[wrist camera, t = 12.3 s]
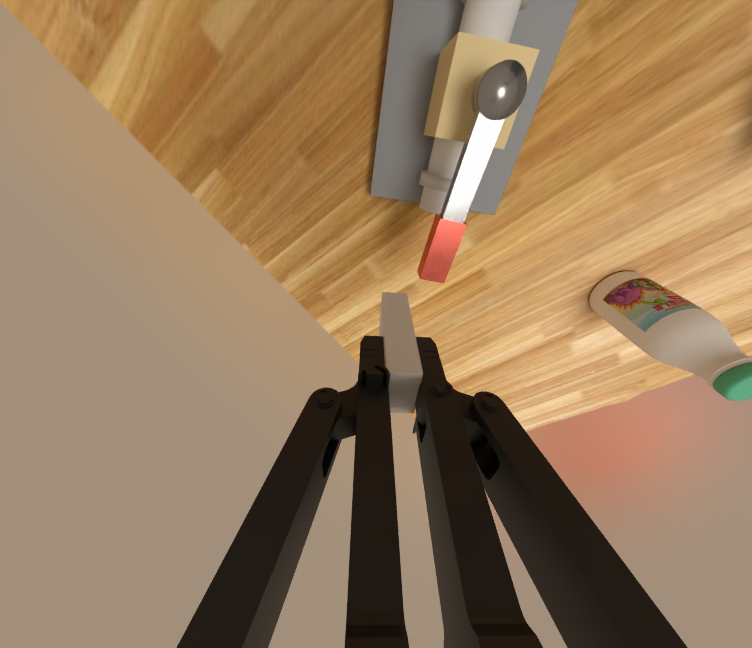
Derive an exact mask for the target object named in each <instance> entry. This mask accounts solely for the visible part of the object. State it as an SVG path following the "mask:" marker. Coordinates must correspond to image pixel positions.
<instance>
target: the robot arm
mask: <svg viewBox="0 0 752 648" xmlns="http://www.w3.org/2000/svg"><path fill="white" fill-rule="evenodd" d="M379 331H380V336H364V338H363V339H362V341H361V344H360V364H359V374H358V382H357V383H356V385H355V386H354V387H352V388H350V389H348V390H346V391H342V392H337V391H336V390H334V389H332V388H322V389H318V390H316V391H315V392H313V394H312V395H311V396H310V398H309V399H308V401H307V403H306V405H305V407H304V409H303V411H302V413H301V414H300V416H299V418H298V420H297V422H296V424H295V426H294V428H293V429H292V431H291V433H290V435H289V437H288V439H287V441H286V443H285V445H284V446H283V448H282V450H281V452H280V454H279V456H278V458H277V460H276V461H275V464H274V465H273V467H272V469H271V471H270V473H269V475H268V477H267V478H266V481H265V482H264V484H263V486H262V488H261V490H260V492H259V493H258V495H257V497H256V499H255V501H254V503H253V505H252V507H251V509H250V510H249V512H248V514H247V516H246V518H245V520H244V522H243V524H242V526H241V527H240V529H239V531H238V533H237V535H236V537H235V539H234V541H233V543H232V544H231V546H230V548H229V550H228V552H227V554H226V556H225V558H224V560H223V561H222V563H221V565H220V567H219V569H218V571H217V573H216V575H215V577H214V578H213V580H212V582H211V584H210V586H209V588H208V590H207V592H206V593H205V595H204V597H203V599H202V601H201V603H200V605H199V607H198V608H197V610H196V612H195V614H194V616H193V618H192V620H191V622H190V624H189V625H188V627H187V629H186V631H185V633H184V635H183V637H182V639H181V641H180V642H179V644H178V646H177V648H268V646H269V643H270V640H271V638H272V635H273V632H274V629H275V626H276V623H277V621H278V618H279V615H280V612H281V609H282V607H283V604H284V601H285V598H286V595H287V593H288V590H289V587H290V584H291V581H292V579H293V576H294V573H295V570H296V567H297V564H298V561H299V559H300V556H301V553H302V550H303V547H304V545H305V541H306V539H307V536H308V533H309V530H310V528H311V525H312V522H313V519H314V516H315V514H316V511H317V508H318V505H319V502H320V499H321V497H322V494H323V491H324V488H325V485H326V483H327V480H328V477H329V474H330V471H331V468H332V466H333V463H334V460H335V457H336V454H337V452H338V449H339V446H340V443H341V440H342V439H344V438H347V437H350V436H354V435H356V438H355V439H356V441H355V459H354V480H353V499H352V520H351V539H350V559H349V580H348V602H347V619H346V635H345V648H409V644H408V637H407V632H406V627H405V621H404V611H403V597H402V584H401V583H402V582H401V566H400V551H399V536H398V521H397V506H396V491H395V478H394V477H395V476H394V462H393V446H392V431H391V417H390V412H394V413H414V410H415V408H416V419H415V424H414V428H413V433H415V432H416V433H417V440H418V447H419V455H420V461H421V469H422V476H423V483H424V490H425V497H426V504H427V512H428V519H429V526H430V533H431V540H432V547H433V554H434V561H435V568H436V576H437V583H438V590H439V597H440V604H441V611H442V618H443V625H444V648H543V647H542V645H541V643H540V641H539V639H538V637H537V636H536V634H535V633H534V632H533V631H532V629H531V628H530V627H529V626H528V624H527V623H526V621H525V619H524V617H523V614H522V611H521V608H520V605H519V602H518V598H517V595H516V592H515V589H514V585H513V582H512V579H511V576H510V572H509V569H508V566H507V563H506V559H505V556H504V553H503V549H502V546H501V543H500V539H499V536H498V533H497V529H496V526H495V523H494V520H493V516H492V513H491V510H490V506H489V504H488V500H487V497H486V493H487V495H488V497H489V498H490V500H491V502H492V504H493V506H494V508H495V510H496V512H497V514H498V516H499V518H500V519H501V521H502V523H503V525H504V527H505V529H506V531H507V533H508V535H509V537H510V538H511V540H512V542H513V544H514V546H515V548H516V550H517V552H518V554H519V556H520V558H521V560H522V561H523V563H524V565H525V567H526V569H527V571H528V573H529V575H530V577H531V578H532V581H533V583H534V584H535V586H536V588H537V590H538V592H539V594H540V596H541V598H542V600H543V601H544V603H545V605H546V607H547V609H548V611H549V613H550V615H551V617H552V619H553V621H554V623H555V625H556V626H557V628H558V630H559V632H560V634H561V636H562V638H563V640H564V642H565V644H566V645H567V647H568V648H687V646H686V645H685V644H684V642H683V641H682V640H681V638H680V637H679V636H678V634H677V633H676V632H675V630H674V629H673V628H672V626H671V625H670V624H669V622H668V621H667V620H666V618H665V617H664V616H663V614H662V613H661V612H660V610H659V609H658V608H657V606H656V605H655V604H654V602H653V601H652V600H651V598H650V597H649V596H648V594H647V593H646V592H645V590H644V589H643V588H642V586H641V585H640V584H639V582H638V581H637V580H636V578H635V577H634V576H633V574H632V573H631V572H630V570H629V569H628V567H627V566H626V565H625V563H624V562H623V561H622V559H621V558H620V557H619V555H618V554H617V553H616V551H615V550H614V549H613V547H612V546H611V545H610V544H609V542H608V541H607V539H606V538H605V537H604V535H603V534H602V533H601V531H600V530H599V529H598V527H597V526H596V525H595V523H594V522H593V521H592V519H591V518H590V517H589V516H588V514H587V513H586V511H585V510H584V509H583V507H582V506H581V505H580V503H579V502H578V501H577V500H576V498H575V497H574V495H573V494H572V493H571V491H570V490H569V489H568V487H567V486H566V485H565V483H564V482H563V481H562V479H561V478H560V477H559V475H558V474H557V473H556V471H555V470H554V469H553V467H552V466H551V465H550V463H549V462H548V461H547V459H546V458H545V457H544V455H543V454H542V453H541V452H540V450H539V449H538V447H537V446H536V445H535V444H534V442H533V441H532V440H531V438H530V437H529V436H528V434H527V433H526V431H525V430H524V429H523V427H522V426H521V425H520V423H519V422H518V421H517V419H516V418H515V417H514V415H513V414H512V413H511V411H510V410H509V409H508V407H507V406H506V405H505V403H504V402H503V401H502V400H501V399H500V398H499V397H498V396H496V395H495V394H493V393H490V392H478V393H476V394H475V396H474V397H473V396H470V395H467V394H463V393H460V392H458V391H456V390H454V389H453V387H452V385H451V384H450V383H449V382H447V380H446V378H445V374H444V371H443V367H442V364H441V360H440V358H439V353H438V350H437V347H436V344H435V343H434V341H433V340H432V339H431V338H429V337H415V332H414V327H413V322H412V317H411V312H410V307H409V302H408V297H407V293H388V292H382V302H381V314H380V326H379ZM484 489H485V490H484ZM485 491H486V493H485Z"/></svg>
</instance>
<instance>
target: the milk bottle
mask: <svg viewBox="0 0 752 648" xmlns="http://www.w3.org/2000/svg"><path fill="white" fill-rule="evenodd" d="M589 302H590V306H591V308H592V309H593V310H594V311H595V312H596V313H597V314H598V315H600V316H601V317H602V318H603V319H604V320H606V321H607V322H608V323H609V324H611V325H612V326H613V327H614V328H615V329H617V330H618V331H619V332H620V333H622V334H623V335H624V336H625V337H626V338H628V339H629V340H630V341H631V342H633V343H634V344H635V345H636V346H638V347H639V348H640V349H642V350H643V351H644V352H646V353H647V354H648V355H650V356H652V357H653V358H655V359H657V360H659V361H661V362H663V363H665V364H668V365H671V366H674V367H677V368H680V369H683V370H686V371H689V372H691V373H694V374H696V375H698V376H700V377H702V378H704V379H705V380H707V383H708V385H709V386H711V387H713V388H714V389H715V390H716V391H717V392H718V393H720V394H721V395H722V396H724V397H725V398H727V399H729V400H734V401H740V400H747V399H751V398H752V358H750V357H748V356H747V355H746V354H745V353H743V352H742V351H741V349H740V348H739V347H738V346H737V345H736V343H735V342H734V341H733V339H732V337H731V336H730V334H729V332H728V331H727V329H726V328H725V327H724V325H723V324H722V323H721V322H720V321H719V320H718V319H716V318H715V317H714V316H712V315H711V314H710V313H708V312H706V311H705V310H703V309H702V308H700V307H698V306H697V305H695V304H693V303H691V302H690V301H688V300H686V299H684V298H682V297H681V296H679V295H677V294H675V293H674V292H672V291H670V290H668V289H666V288H665V287H663V286H661V285H659V284H657V283H655V282H654V281H652V280H650V279H648V278H646V277H644V276H643V275H641V274H638V273H636V272H632V271H623V272H618V273H615V274H613V275H610V276H608V277H607V278H605V279H604V280H602V281H601V282H600V283H599V284H598V285H597V286H596V287H595V288H594V289H593V291H592V293H591V295H590V299H589Z"/></svg>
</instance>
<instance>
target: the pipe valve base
mask: <svg viewBox="0 0 752 648" xmlns="http://www.w3.org/2000/svg"><path fill="white" fill-rule="evenodd" d="M577 3H578V0H393V9H392V17H391V25H390V33H389V42H388V50H387V58H386V67H385V75H384V83H383V91H382V100H381V108H380V116H379V124H378V133H377V141H376V149H375V157H374V166H373V174H372V182H371V191H370V196H376V197H382V198H389V199H395V200H402V201H408V202H414V203H420V205H419V207H420V208H421V209H422V210H425V211H427V212H430V213H434V214H436V213H437V214H440V213H441V210H442V207H443V204H444V201H445V198H446V195H447V192H448V190H449V187H450V184H451V181H452V178H453V175H454V172H455V169H456V166H457V163H458V160H459V157H460V154H461V151H462V148H463V145H464V142H465V139H466V136H467V133H468V130H469V127H470V125H471V122H472V119H473V116H474V111H473V109H472V104H471V95H472V90H473V87H474V84H475V82H476V80H477V79H478V77H479V76H480V75H481V74H482V72H484V71H485V70H486V69H487V68H489V67H491V66H493V65H495V64H497V63H499V62H501V61H504V60H508V59H512V60H516V61H518V62H519V63H521V64H522V66H523V67H524V69H525V71H526V74H527V90H526V93H525V96H524V99H523V101H522V103H521V104H520V106H519V107H518V109H517V110H516V111H515V112H514V113H513V114H512V115H510V116H509V117H507V118H505V119H504V122H503V124H502V127H501V130H500V132H499V135H498V137H497V140H496V142H495V145H494V147H493V150H492V152H491V155H490V157H489V160H488V162H487V165H486V168H485V170H484V173H483V175H482V178H481V180H480V183H479V185H478V188H477V190H476V193H475V195H474V198H473V200H472V203H471V205H470V208H469V211H473V212H479V213H486V214H492V215H495V213H496V210H497V208H498V205H499V203H500V200H501V198H502V195H503V193H504V190H505V187H506V185H507V182H508V180H509V177H510V175H511V172H512V169H513V167H514V164H515V162H516V159H517V157H518V154H519V152H520V149H521V146H522V144H523V141H524V139H525V136H526V134H527V131H528V128H529V126H530V123H531V121H532V118H533V116H534V113H535V111H536V108H537V105H538V103H539V100H540V98H541V95H542V93H543V90H544V88H545V85H546V82H547V80H548V77H549V75H550V72H551V70H552V67H553V64H554V62H555V59H556V57H557V54H558V52H559V49H560V47H561V44H562V41H563V39H564V36H565V34H566V31H567V29H568V26H569V23H570V21H571V18H572V16H573V13H574V11H575V8H576V6H577Z"/></svg>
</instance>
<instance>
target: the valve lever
mask: <svg viewBox="0 0 752 648" xmlns="http://www.w3.org/2000/svg"><path fill="white" fill-rule="evenodd" d="M526 90H527V74H526V71H525V69H524V67H523V66H522V64H521V63H519V62H518V61H516V60H512V59H508V60H504V61H501V62H499V63H497V64H495V65H493V66H491V67H489V68H487V69H486V70H485V71H484V72H482V74H481V75H480V76H479V77H478V79H477V80H476V82H475V84H474V87H473V90H472V95H471V104H472V109H473V111H474V116H473V119H472V122H471V125H470V127H469V130H468V133H467V136H466V139H465V142H464V145H463V148H462V151H461V154H460V157H459V160H458V163H457V166H456V169H455V172H454V175H453V178H452V181H451V184H450V187H449V190H448V192H447V195H446V198H445V201H444V204H443V207H442V210H441V213H440V214H437V213H436V216H435V219H434V222H433V225H432V228H431V231H430V234H429V237H428V240H427V243H426V246H425V249H424V252H423V255H422V258H421V261H420V264H419V267H418V270H417V272H418V275H419V278H420V279H424V280H430V281H435V282H440V283H444V282H445V279H446V277H447V274H448V272H449V269H450V267H451V264H452V262H453V260H454V257H455V255H456V252H457V250H458V247H459V245H460V242H461V240H462V237H463V235H464V232H465V230H466V227H467V224H466V223H465V222H464V221H465V218H466V216H467V213H468V211H469V208H470V205H471V203H472V200H473V198H474V195H475V193H476V190H477V188H478V185H479V183H480V180H481V178H482V175H483V173H484V170H485V168H486V165H487V162H488V160H489V157H490V155H491V152H492V150H493V147H494V145H495V142H496V140H497V137H498V135H499V132H500V130H501V127H502V124H503V122H504V119H505V118H507V117H509V116H510V115H512V114H513V113H514V112H515V111H516V110H517V109H518V107H519V106H520V104H521V103H522V101H523V99H524V96H525V93H526Z"/></svg>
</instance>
